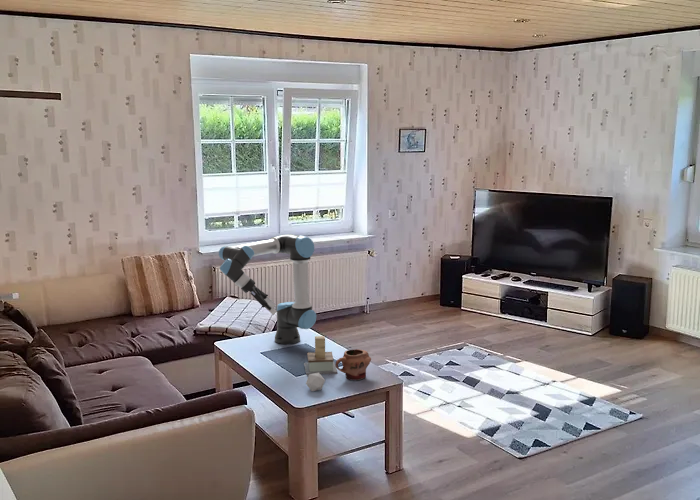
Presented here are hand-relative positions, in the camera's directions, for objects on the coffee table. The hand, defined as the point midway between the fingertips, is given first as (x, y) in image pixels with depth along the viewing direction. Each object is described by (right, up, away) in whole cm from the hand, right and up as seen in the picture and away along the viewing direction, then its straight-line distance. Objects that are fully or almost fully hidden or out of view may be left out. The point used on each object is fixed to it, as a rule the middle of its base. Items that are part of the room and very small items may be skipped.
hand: (275, 309), depth 345 cm
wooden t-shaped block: (+24, -25, -5) cm, 35 cm away
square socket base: (+24, -31, -4) cm, 39 cm away
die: (+23, -36, -32) cm, 53 cm away
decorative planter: (+41, -33, -17) cm, 56 cm away
